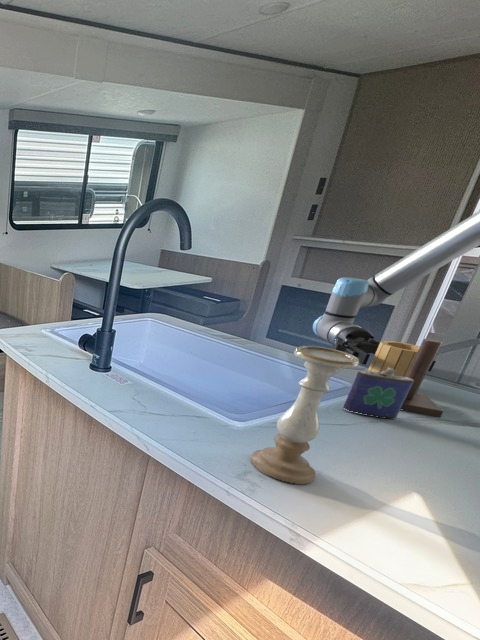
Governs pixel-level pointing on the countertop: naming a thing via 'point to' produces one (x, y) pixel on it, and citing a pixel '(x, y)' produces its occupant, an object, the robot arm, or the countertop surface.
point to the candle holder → (302, 417)
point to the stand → (417, 373)
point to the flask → (378, 393)
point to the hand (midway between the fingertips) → (398, 362)
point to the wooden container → (394, 357)
